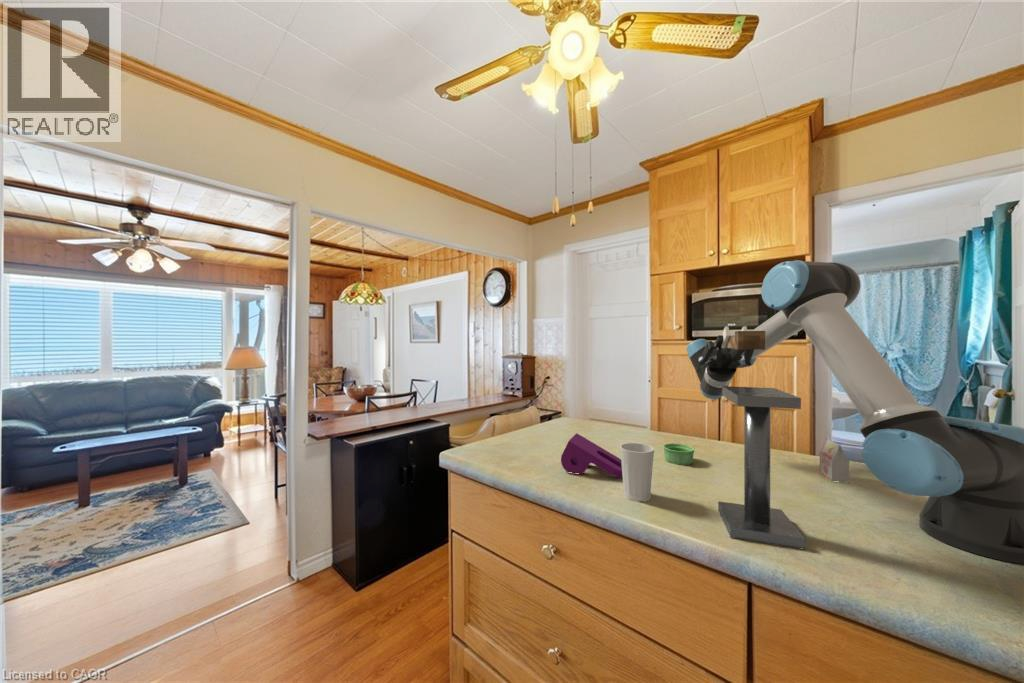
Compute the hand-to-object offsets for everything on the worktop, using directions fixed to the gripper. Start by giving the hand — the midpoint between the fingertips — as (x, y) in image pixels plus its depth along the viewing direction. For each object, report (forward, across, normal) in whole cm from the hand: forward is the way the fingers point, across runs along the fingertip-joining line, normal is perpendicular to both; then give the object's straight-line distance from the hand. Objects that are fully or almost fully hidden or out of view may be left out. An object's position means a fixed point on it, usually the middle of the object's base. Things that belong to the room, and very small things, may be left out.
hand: (736, 331), depth 90 cm
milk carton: (-38, -28, -25) cm, 54 cm away
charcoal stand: (-5, 0, -44) cm, 44 cm away
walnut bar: (0, 0, -5) cm, 5 cm away
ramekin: (-40, +11, -24) cm, 48 cm away
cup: (-12, +23, -40) cm, 48 cm away
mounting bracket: (-24, +35, -34) cm, 54 cm away
